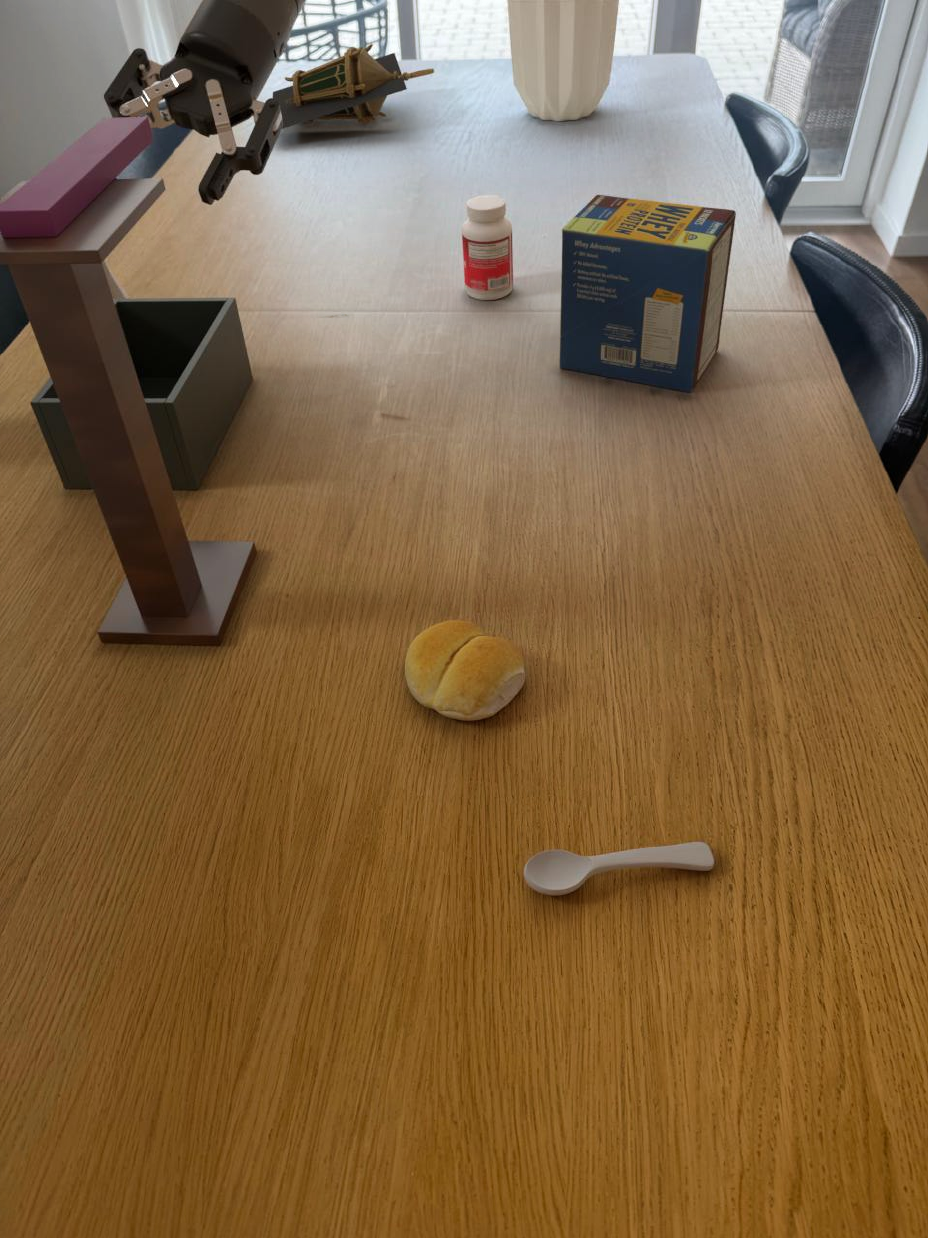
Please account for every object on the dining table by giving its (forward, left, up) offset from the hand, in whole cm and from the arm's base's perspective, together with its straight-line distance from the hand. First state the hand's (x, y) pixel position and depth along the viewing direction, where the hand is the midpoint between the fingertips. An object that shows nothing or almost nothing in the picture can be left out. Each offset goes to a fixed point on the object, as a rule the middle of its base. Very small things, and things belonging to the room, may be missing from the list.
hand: (158, 179), depth 82 cm
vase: (+33, +111, -26) cm, 118 cm away
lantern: (-5, +109, -26) cm, 112 cm away
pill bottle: (+25, +36, -26) cm, 51 cm away
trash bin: (-7, +3, -26) cm, 27 cm away
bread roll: (+28, -32, -26) cm, 50 cm away
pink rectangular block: (+3, -18, +6) cm, 19 cm away
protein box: (+43, +18, -26) cm, 53 cm away
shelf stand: (+3, -23, -26) cm, 35 cm away
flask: (-22, +28, -26) cm, 44 cm away
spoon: (+39, -48, -26) cm, 67 cm away
